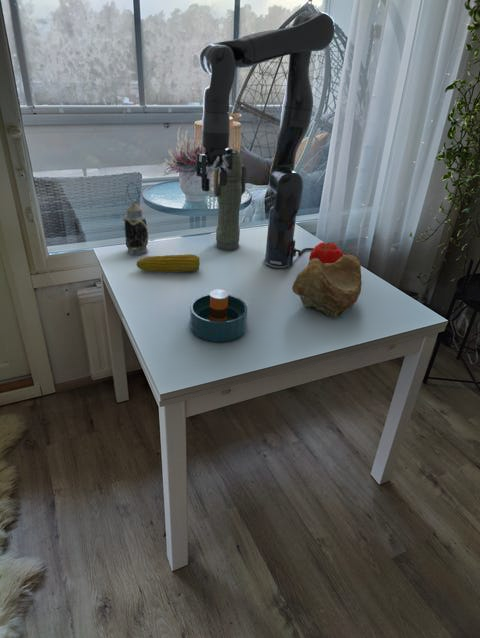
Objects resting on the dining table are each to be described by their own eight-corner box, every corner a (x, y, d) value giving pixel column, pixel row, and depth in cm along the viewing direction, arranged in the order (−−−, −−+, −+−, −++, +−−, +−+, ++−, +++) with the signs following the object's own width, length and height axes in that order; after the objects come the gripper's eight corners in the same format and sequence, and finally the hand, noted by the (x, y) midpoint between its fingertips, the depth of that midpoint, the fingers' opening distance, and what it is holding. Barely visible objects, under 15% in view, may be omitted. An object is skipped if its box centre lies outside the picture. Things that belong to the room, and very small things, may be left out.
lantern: (121, 250, 162) (115, 181, 149) (139, 245, 167) (135, 178, 154) (135, 258, 157) (130, 187, 144) (154, 252, 162) (150, 183, 149)
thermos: (246, 247, 171) (252, 152, 152) (220, 253, 165) (224, 155, 147) (233, 239, 177) (238, 147, 159) (208, 244, 171) (210, 149, 153)
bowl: (237, 310, 130) (238, 291, 127) (252, 339, 118) (254, 319, 115) (186, 316, 126) (186, 296, 123) (196, 346, 114) (196, 325, 111)
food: (199, 267, 154) (199, 251, 151) (200, 274, 149) (200, 258, 146) (137, 267, 151) (136, 251, 148) (136, 275, 146) (135, 258, 143)
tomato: (307, 262, 163) (310, 238, 158) (340, 265, 162) (344, 241, 157) (308, 274, 154) (311, 250, 149) (343, 278, 153) (347, 253, 148)
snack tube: (224, 320, 125) (225, 288, 119) (229, 329, 121) (230, 297, 115) (207, 321, 123) (207, 290, 118) (211, 331, 119) (212, 299, 114)
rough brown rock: (316, 332, 124) (329, 287, 116) (282, 301, 135) (291, 258, 126) (374, 315, 136) (390, 272, 127) (338, 288, 146) (350, 247, 138)
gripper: (211, 134, 116) (210, 195, 124) (241, 128, 126) (238, 185, 134) (188, 130, 119) (189, 190, 128) (220, 124, 129) (218, 181, 138)
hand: (214, 188), depth 131 cm, fingers open, 8 cm apart
